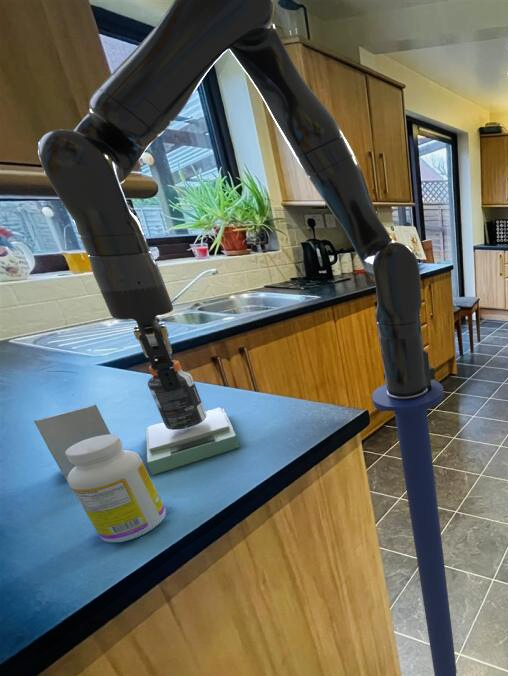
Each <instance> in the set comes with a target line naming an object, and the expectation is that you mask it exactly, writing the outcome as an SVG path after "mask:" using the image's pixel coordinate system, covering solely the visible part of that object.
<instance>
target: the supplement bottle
mask: <svg viewBox="0 0 508 676" xmlns="http://www.w3.org/2000/svg"><path fill="white" fill-rule="evenodd" d="M65 454H66V456H67V458H68V460H69V462H71V463H72V464H74V465H75V467H74V468H73V469H72V470H71V471H70V473H69V474H68V477H67V480H68V481H67V480H66V481H67V484H68V486H69V487H70V489H71V490H72V492H73V494H74V495H75V497H76V499H77V500H78V502H79V504H80V505H81V507H82V509H83V510H84V512H85V513H86V516H87V517H88V519H89V520H90V522H91V524H92V526H93V527H94V529H95V531H96V533H97V534H98V535H99V537H100V539H101V540H102V541H104V542H106V543H123V542H127V541H131V540H134V539H136V538H138V537H141V536H144V535H145V534H147V533H149V532H150V531H152V530H154V529H155V528H156V527H157V526H159V524H161V522H162V521H163V520H164V518H165V517H166V514H167V510H166V507H165V505H164V503H163V501H162V499H161V496H160V495H159V493H158V490H157V489H156V487H155V484H154V482H153V481H152V479H151V476H150V474H149V472H148V470H147V468H146V466H145V463H144V462H143V460H142V458H141V455H139V454H138V453H137V452H135V451H133V450H129V449H123V442H122V441H121V438H120V437H119V435H116V434H111V435H101V436H96V437H92V438H89V439H86V440H83V441H81V442H78V443H76V444H74V445H73V446H71V447H69V448H68V449H67V450H66V452H65Z"/></svg>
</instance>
